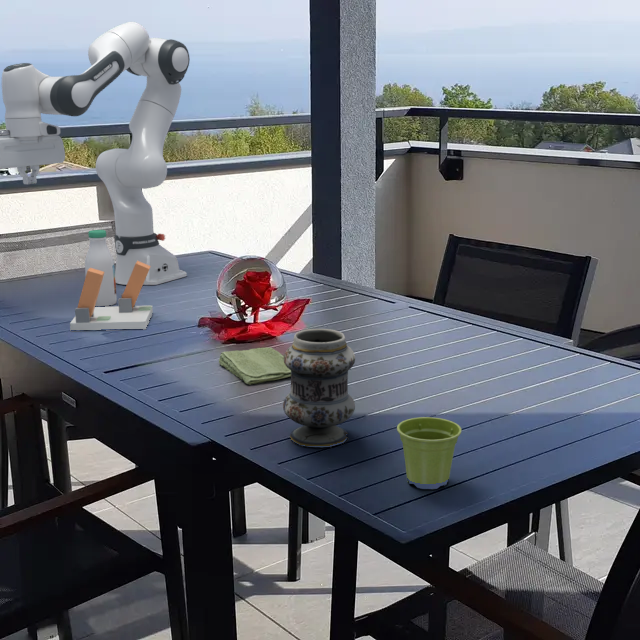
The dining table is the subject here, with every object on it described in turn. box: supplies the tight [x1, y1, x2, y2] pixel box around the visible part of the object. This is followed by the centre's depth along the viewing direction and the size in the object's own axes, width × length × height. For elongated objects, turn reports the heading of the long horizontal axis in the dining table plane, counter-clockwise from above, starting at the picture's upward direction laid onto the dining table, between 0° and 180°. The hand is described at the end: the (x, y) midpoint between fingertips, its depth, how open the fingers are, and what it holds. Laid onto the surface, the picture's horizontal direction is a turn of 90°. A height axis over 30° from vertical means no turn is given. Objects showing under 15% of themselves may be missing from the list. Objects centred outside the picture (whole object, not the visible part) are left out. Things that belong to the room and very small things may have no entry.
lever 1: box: [76, 268, 104, 317], centre depth 220 cm, size 4×4×12 cm
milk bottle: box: [84, 229, 118, 307], centre depth 243 cm, size 8×8×20 cm
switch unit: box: [69, 292, 154, 332], centre depth 226 cm, size 16×18×6 cm
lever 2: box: [121, 261, 151, 308], centre depth 230 cm, size 4×4×12 cm
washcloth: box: [218, 347, 291, 386], centre depth 188 cm, size 13×18×3 cm
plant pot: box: [396, 416, 462, 484], centre depth 135 cm, size 9×9×9 cm
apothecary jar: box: [282, 328, 356, 446], centre depth 151 cm, size 12×12×18 cm
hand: (30, 183), depth 236 cm, fingers closed
